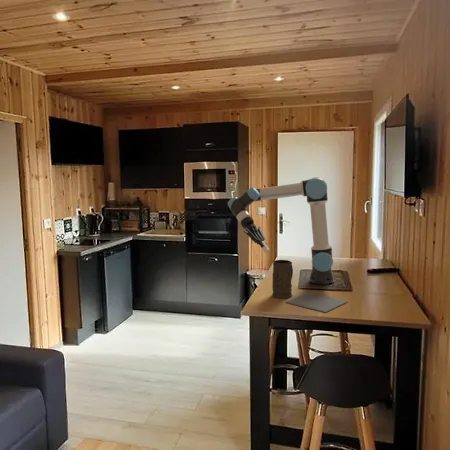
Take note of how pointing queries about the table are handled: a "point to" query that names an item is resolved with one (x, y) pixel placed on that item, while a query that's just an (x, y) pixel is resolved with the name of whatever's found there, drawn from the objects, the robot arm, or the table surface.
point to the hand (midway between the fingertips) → (267, 251)
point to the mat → (316, 302)
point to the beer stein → (282, 279)
